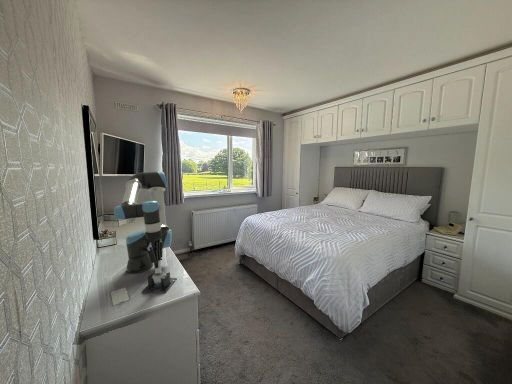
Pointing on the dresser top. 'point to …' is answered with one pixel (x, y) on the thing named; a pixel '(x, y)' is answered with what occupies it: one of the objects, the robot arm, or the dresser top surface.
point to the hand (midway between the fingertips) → (158, 272)
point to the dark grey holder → (166, 284)
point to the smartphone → (119, 296)
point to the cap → (158, 279)
